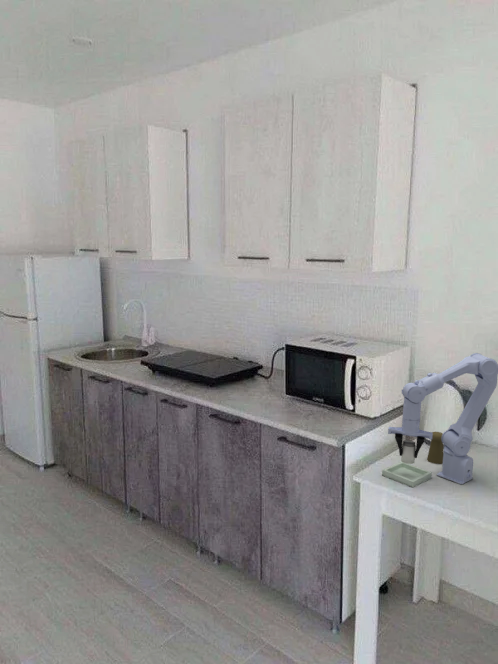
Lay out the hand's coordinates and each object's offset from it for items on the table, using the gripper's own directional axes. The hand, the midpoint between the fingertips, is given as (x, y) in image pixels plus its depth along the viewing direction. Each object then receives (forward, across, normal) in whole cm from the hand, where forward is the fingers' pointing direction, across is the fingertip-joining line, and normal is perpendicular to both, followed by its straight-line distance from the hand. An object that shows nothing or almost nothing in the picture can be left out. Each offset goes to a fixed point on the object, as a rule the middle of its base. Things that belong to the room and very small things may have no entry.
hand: (408, 455), depth 180 cm
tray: (+8, 0, 0) cm, 8 cm away
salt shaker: (+2, 0, 0) cm, 2 cm away
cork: (+8, -10, -19) cm, 22 cm away
